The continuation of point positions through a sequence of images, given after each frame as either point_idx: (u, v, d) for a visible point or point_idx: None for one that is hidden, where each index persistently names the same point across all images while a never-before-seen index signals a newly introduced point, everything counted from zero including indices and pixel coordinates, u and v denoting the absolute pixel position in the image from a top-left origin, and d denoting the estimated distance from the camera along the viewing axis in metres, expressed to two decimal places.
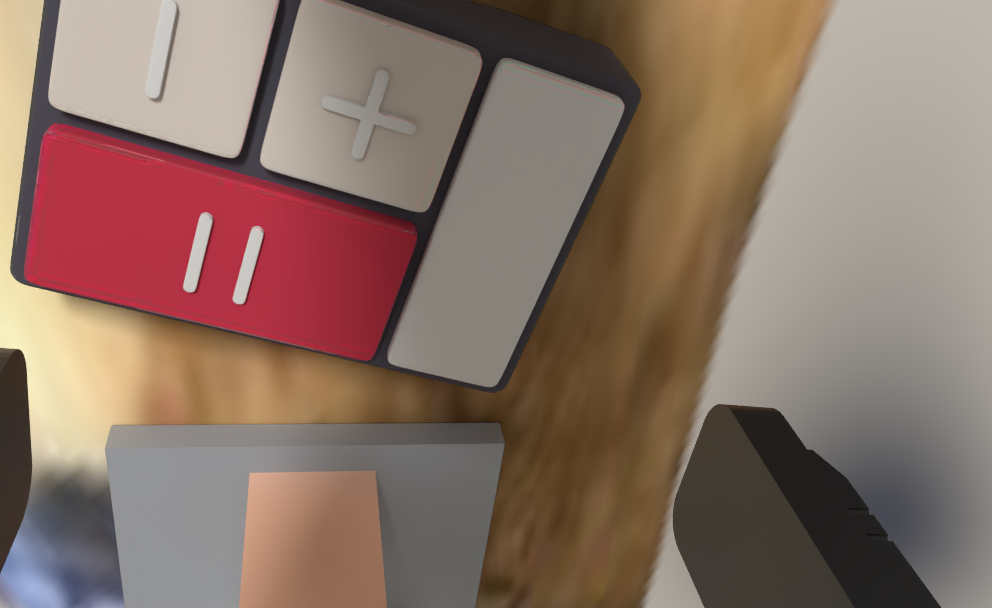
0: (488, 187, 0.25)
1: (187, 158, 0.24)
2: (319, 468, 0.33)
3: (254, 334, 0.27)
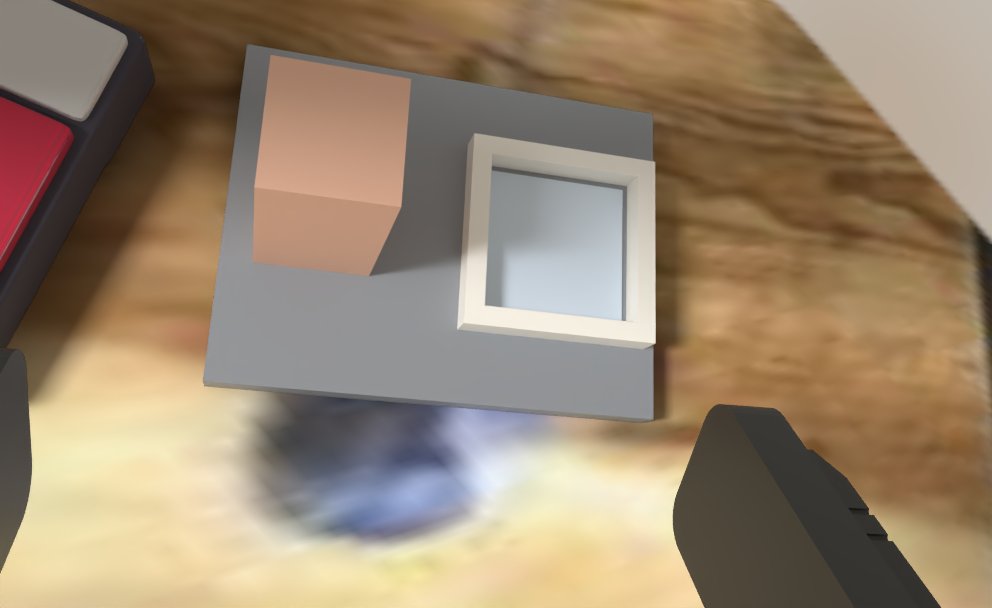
0: None
1: None
2: None
3: (22, 216, 0.31)
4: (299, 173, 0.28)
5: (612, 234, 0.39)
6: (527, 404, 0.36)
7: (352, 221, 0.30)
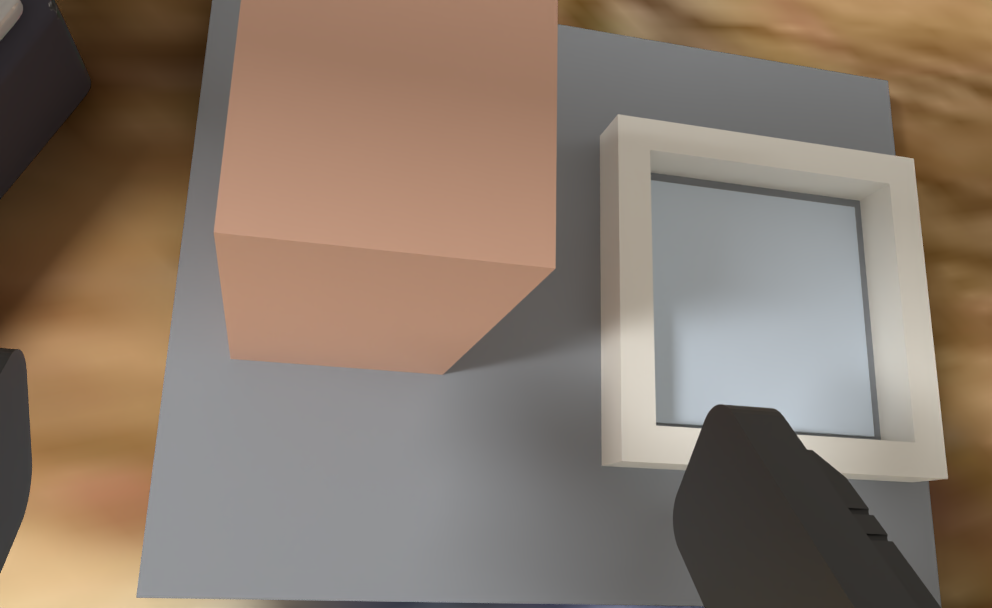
0: None
1: None
2: None
3: None
4: (320, 196, 0.12)
5: (844, 284, 0.23)
6: None
7: (434, 295, 0.14)
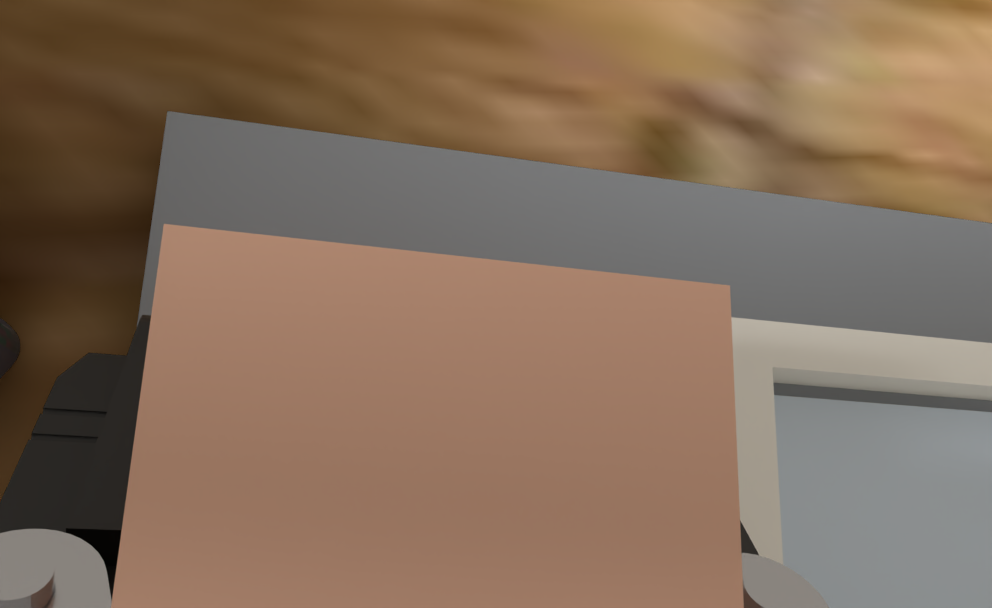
0: None
1: None
2: None
3: None
4: None
5: None
6: None
7: None
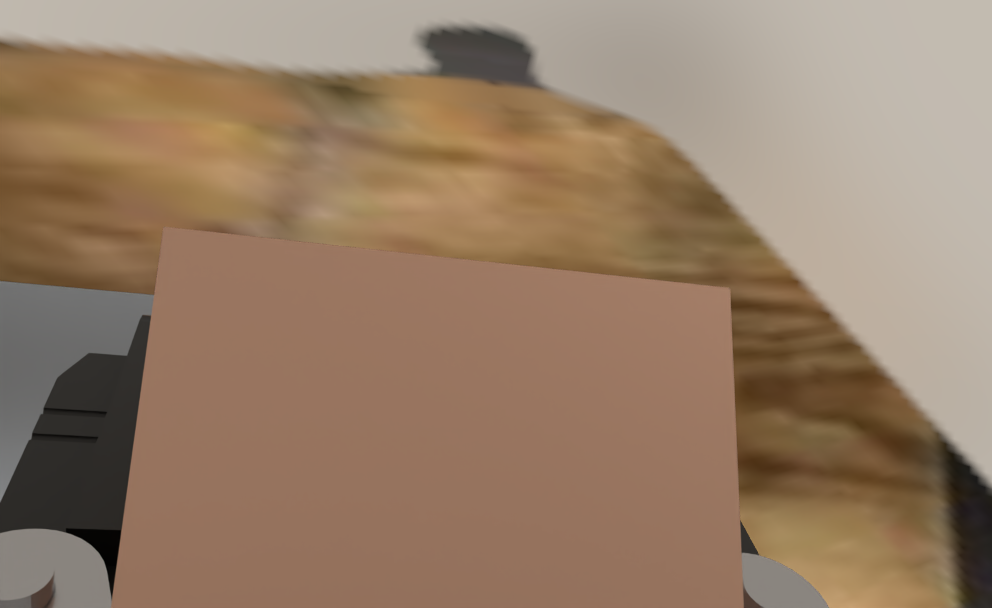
0: None
1: None
2: None
3: None
4: None
5: None
6: None
7: None
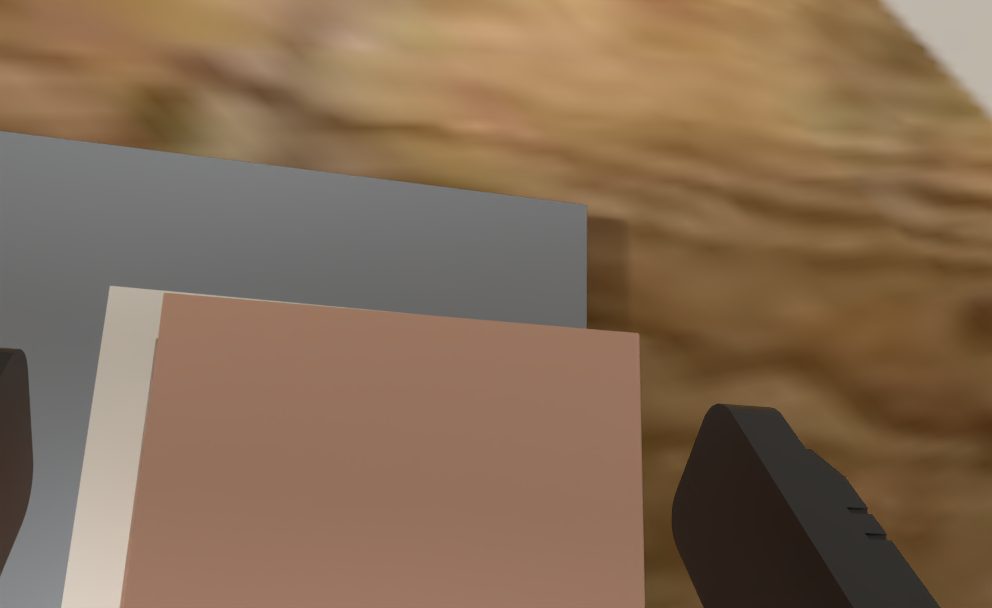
0: None
1: None
2: None
3: None
4: None
5: None
6: None
7: None
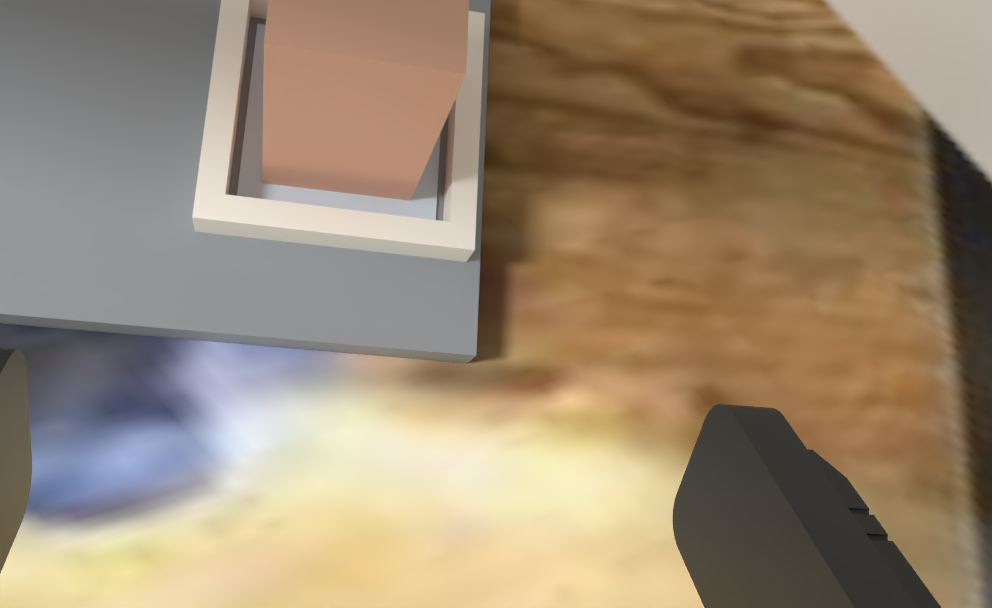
0: None
1: None
2: None
3: None
4: (325, 26, 0.20)
5: None
6: (292, 333, 0.26)
7: (396, 103, 0.22)
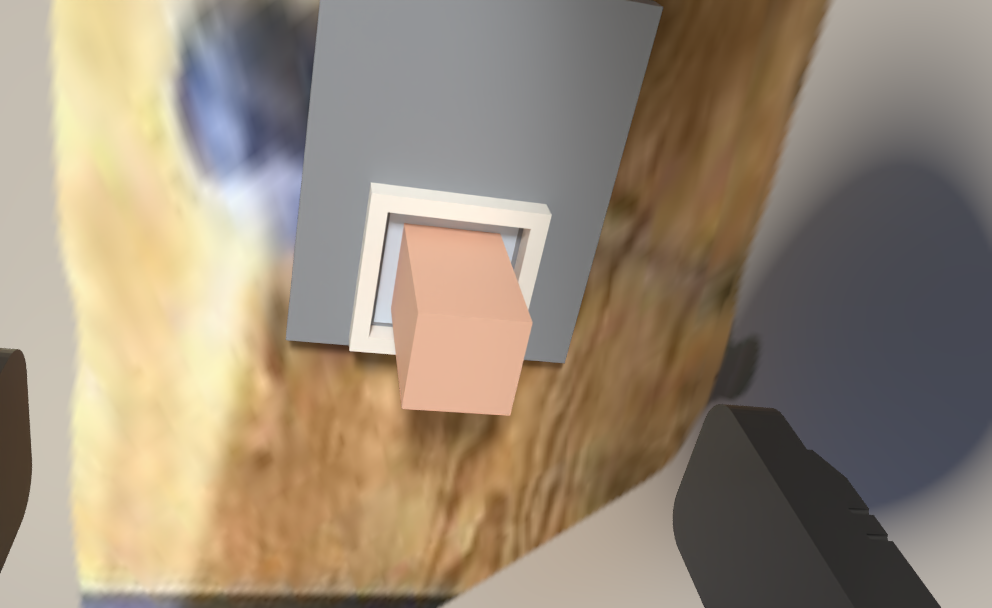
0: None
1: None
2: (501, 6, 0.37)
3: None
4: (429, 342, 0.35)
5: None
6: (300, 237, 0.41)
7: (403, 355, 0.37)
